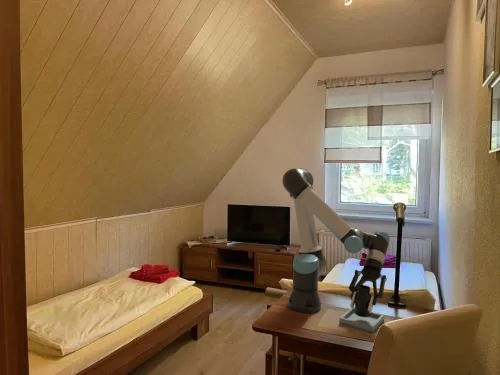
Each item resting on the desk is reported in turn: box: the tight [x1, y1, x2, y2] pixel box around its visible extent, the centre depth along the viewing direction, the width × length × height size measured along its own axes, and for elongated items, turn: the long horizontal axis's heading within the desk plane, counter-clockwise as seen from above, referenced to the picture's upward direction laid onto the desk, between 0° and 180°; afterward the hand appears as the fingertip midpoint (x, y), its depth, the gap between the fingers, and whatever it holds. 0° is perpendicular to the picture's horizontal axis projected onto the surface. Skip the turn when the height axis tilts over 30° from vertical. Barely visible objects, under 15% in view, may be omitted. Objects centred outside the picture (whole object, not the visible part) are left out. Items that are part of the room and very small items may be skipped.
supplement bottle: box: [354, 284, 373, 317], centre depth 155 cm, size 7×7×12 cm
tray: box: [338, 306, 385, 334], centre depth 156 cm, size 14×15×2 cm
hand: (360, 309), depth 153 cm, fingers closed on supplement bottle, 7 cm apart
